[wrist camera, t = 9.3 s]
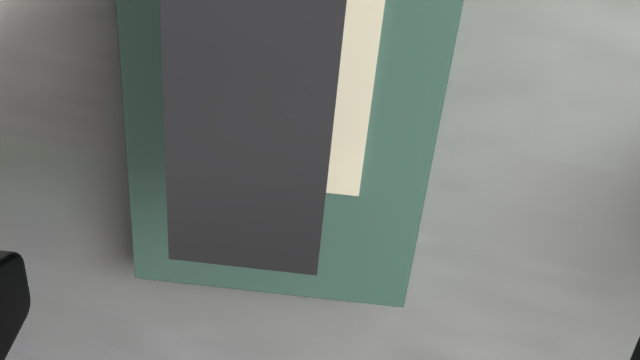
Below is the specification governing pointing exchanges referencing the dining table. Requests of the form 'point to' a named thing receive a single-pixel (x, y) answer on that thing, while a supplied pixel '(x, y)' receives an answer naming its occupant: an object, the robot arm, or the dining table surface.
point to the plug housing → (249, 128)
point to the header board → (345, 158)
